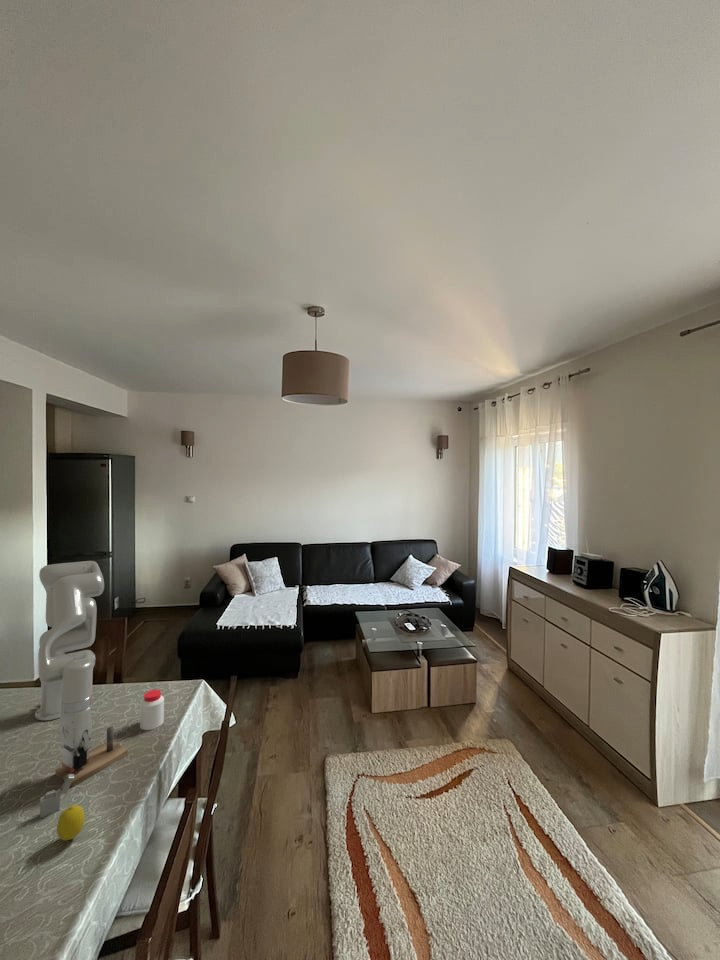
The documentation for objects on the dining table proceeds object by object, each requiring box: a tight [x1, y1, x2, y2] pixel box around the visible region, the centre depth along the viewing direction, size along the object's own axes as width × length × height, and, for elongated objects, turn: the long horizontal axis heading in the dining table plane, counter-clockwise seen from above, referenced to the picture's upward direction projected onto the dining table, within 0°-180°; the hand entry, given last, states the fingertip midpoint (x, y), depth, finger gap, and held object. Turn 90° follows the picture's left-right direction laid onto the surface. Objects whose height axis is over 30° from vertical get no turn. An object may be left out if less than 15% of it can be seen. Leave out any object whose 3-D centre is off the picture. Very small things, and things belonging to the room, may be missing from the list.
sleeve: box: [61, 741, 90, 773], centre depth 119 cm, size 5×5×6 cm
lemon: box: [56, 804, 86, 841], centre depth 98 cm, size 6×6×8 cm
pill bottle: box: [139, 689, 165, 731], centre depth 145 cm, size 8×8×11 cm
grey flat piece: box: [39, 774, 74, 819], centre depth 107 cm, size 7×2×8 cm, turn 130°
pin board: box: [54, 726, 129, 788], centre depth 124 cm, size 10×16×8 cm, turn 151°
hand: (75, 762), depth 119 cm, fingers closed on sleeve, 4 cm apart
